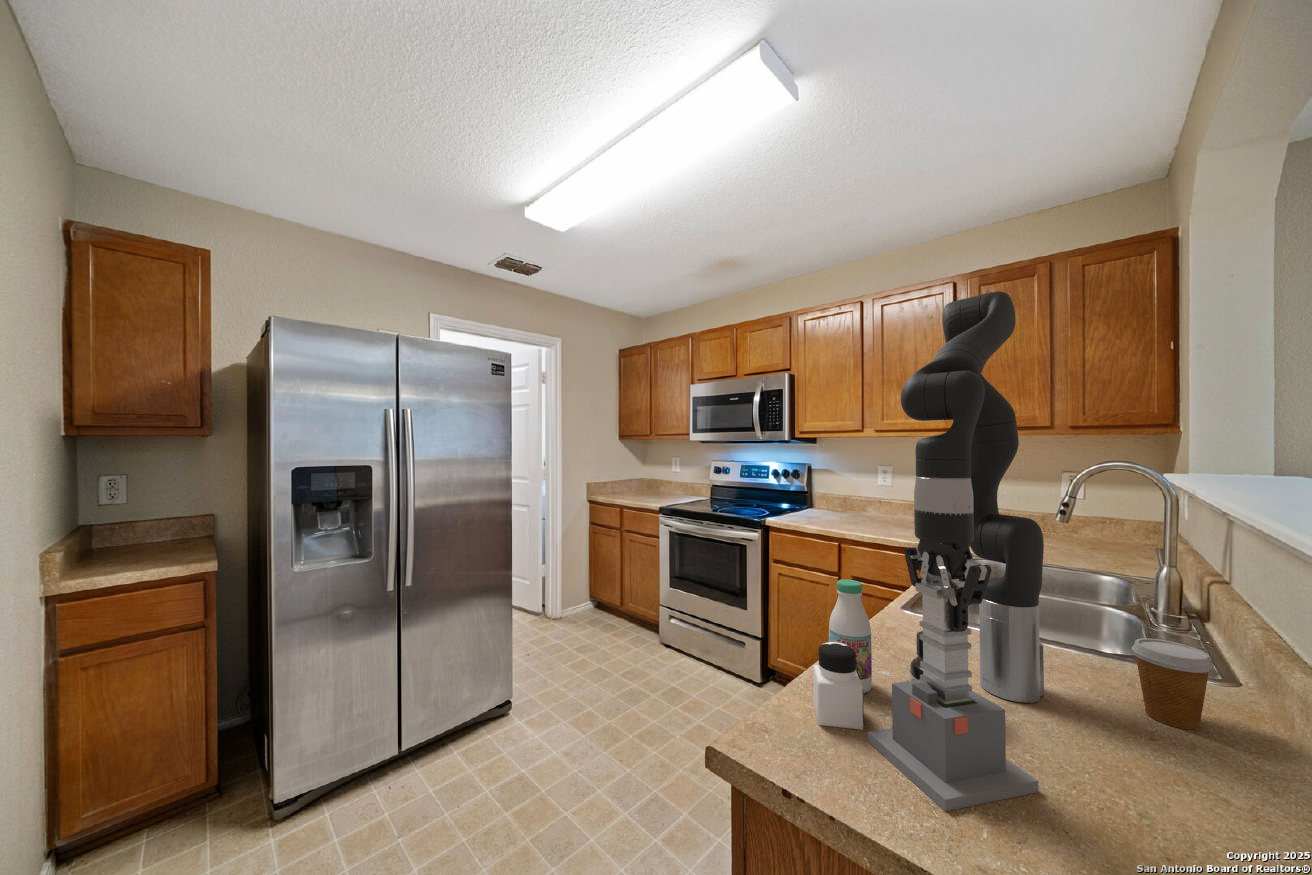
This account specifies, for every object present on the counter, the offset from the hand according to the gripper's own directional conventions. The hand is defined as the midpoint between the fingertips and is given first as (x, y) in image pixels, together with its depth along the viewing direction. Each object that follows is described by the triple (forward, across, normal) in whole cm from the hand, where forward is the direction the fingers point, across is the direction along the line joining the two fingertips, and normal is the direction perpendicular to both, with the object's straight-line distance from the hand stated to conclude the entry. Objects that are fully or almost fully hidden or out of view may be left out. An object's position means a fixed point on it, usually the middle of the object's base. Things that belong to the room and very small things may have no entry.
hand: (944, 624), depth 71 cm
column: (+12, 0, 0) cm, 12 cm away
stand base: (+20, 0, 0) cm, 20 cm away
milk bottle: (+21, +24, -1) cm, 32 cm away
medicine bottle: (+21, +15, +8) cm, 27 cm away
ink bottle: (+21, +14, -12) cm, 28 cm away
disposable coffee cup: (+21, +1, -47) cm, 51 cm away
